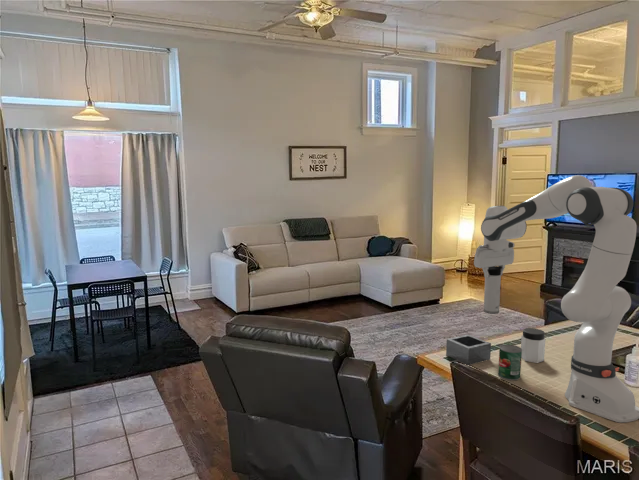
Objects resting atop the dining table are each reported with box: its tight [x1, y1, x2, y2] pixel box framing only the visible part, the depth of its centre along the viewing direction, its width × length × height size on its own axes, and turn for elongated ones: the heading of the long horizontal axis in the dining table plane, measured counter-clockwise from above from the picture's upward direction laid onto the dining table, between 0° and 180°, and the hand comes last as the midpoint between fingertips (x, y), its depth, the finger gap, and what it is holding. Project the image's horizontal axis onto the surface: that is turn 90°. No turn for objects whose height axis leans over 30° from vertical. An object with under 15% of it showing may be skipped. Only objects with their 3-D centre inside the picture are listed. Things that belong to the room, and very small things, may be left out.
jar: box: [520, 327, 546, 364], centre depth 193 cm, size 9×8×12 cm
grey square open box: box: [445, 334, 492, 366], centre depth 195 cm, size 12×12×7 cm
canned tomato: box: [497, 344, 522, 381], centre depth 177 cm, size 8×8×11 cm
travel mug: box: [483, 266, 502, 315], centre depth 200 cm, size 6×7×20 cm
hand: (493, 276), depth 199 cm, fingers closed on travel mug, 6 cm apart
